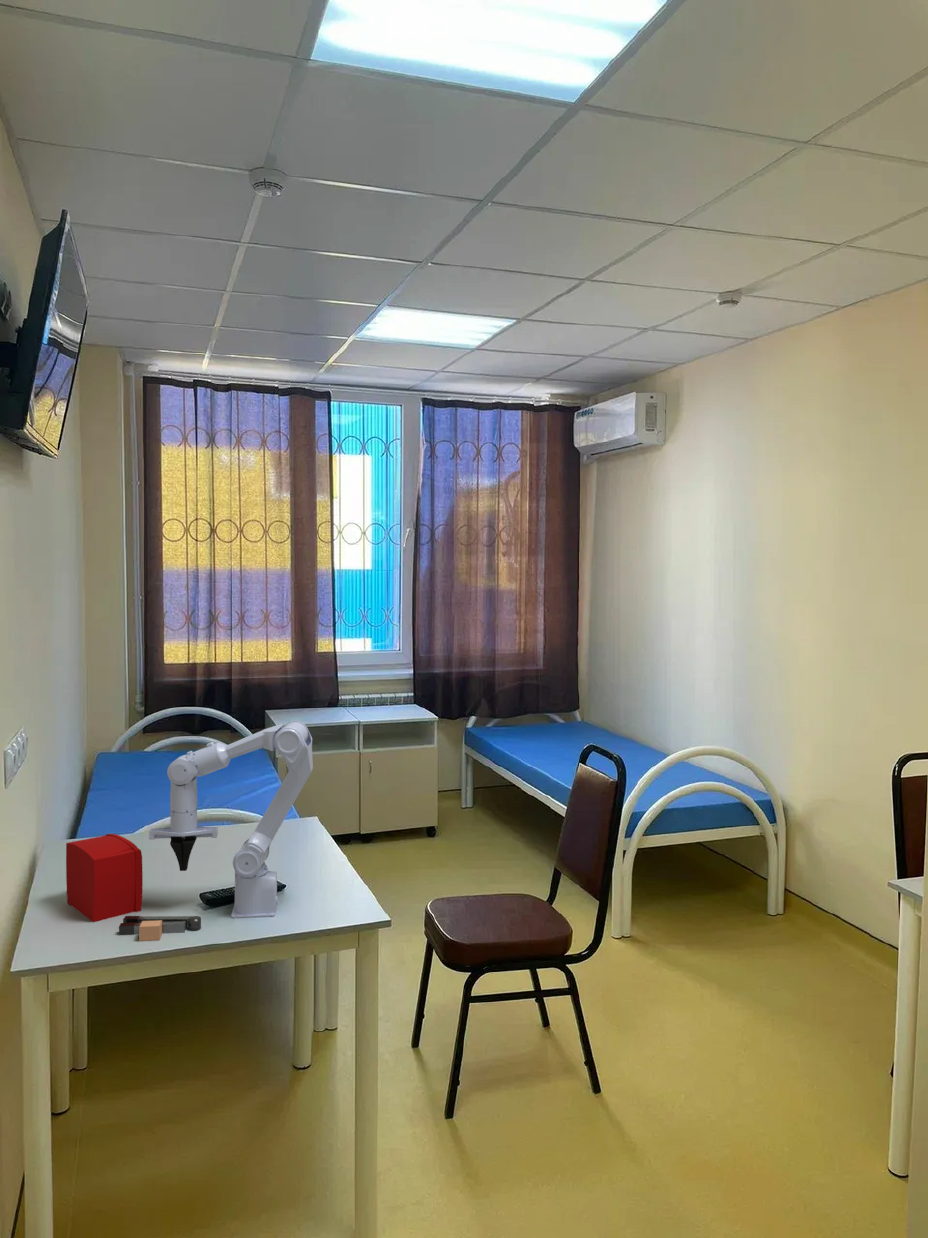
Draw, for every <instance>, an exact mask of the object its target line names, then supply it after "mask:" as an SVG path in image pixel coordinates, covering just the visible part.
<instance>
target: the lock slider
mask: <svg viewBox="0 0 928 1238" xmlns="http://www.w3.org/2000/svg"><path fill="white" fill-rule="evenodd" d="M162 936H163V934H162V920H157V921H142V922H141V924H140V926H139V935H138V939H139V940H138V941H139V942H149V941H160V940H161V937H162Z"/></svg>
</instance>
